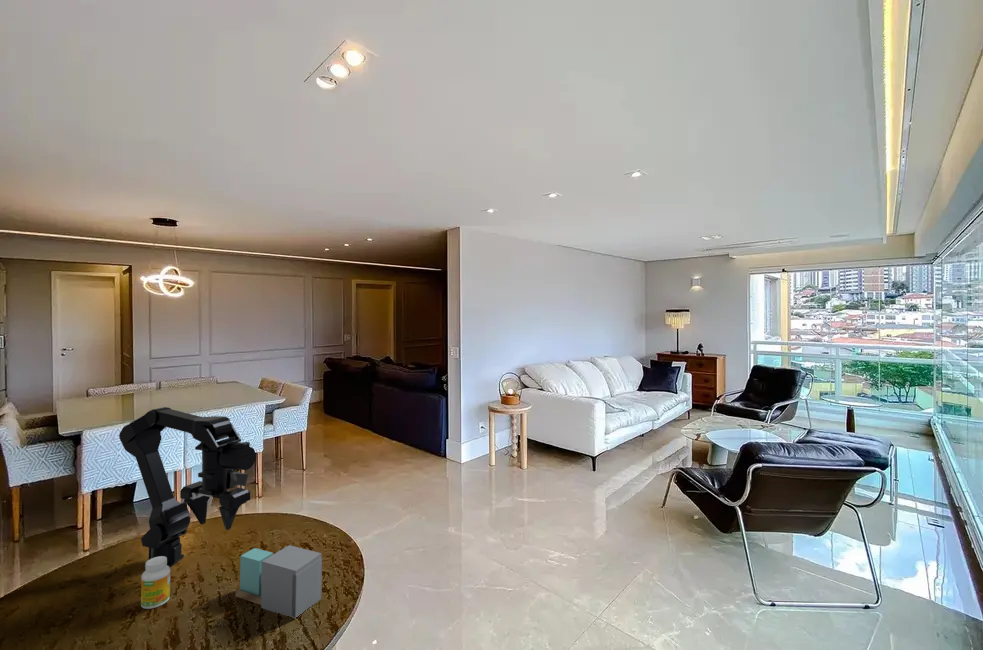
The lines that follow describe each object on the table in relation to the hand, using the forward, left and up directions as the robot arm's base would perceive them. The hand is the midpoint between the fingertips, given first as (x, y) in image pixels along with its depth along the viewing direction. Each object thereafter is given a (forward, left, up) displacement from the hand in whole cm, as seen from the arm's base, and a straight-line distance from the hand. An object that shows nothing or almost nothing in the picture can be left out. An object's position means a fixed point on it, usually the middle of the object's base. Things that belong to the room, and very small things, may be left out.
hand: (215, 526), depth 114 cm
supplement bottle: (-6, -12, -12) cm, 18 cm away
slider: (+16, -8, -12) cm, 21 cm away
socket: (+25, -11, -12) cm, 30 cm away
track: (+16, -8, -12) cm, 22 cm away
